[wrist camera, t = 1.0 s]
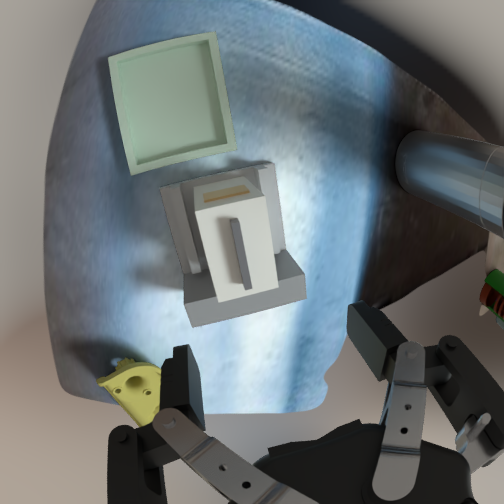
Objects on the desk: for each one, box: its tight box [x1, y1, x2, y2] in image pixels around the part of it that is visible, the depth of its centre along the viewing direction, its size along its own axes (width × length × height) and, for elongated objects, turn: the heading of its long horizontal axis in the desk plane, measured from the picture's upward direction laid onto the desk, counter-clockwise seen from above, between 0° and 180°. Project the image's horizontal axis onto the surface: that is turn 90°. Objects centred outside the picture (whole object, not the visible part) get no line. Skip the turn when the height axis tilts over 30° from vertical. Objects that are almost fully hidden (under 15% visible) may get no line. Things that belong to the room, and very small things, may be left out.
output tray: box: [108, 31, 237, 176], centre depth 24 cm, size 11×13×2 cm
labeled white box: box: [193, 176, 279, 302], centre depth 26 cm, size 5×8×10 cm, turn 9°
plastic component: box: [96, 358, 161, 427], centre depth 38 cm, size 20×7×10 cm
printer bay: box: [160, 162, 307, 328], centre depth 29 cm, size 12×13×7 cm
